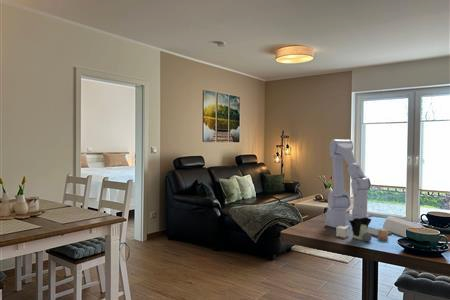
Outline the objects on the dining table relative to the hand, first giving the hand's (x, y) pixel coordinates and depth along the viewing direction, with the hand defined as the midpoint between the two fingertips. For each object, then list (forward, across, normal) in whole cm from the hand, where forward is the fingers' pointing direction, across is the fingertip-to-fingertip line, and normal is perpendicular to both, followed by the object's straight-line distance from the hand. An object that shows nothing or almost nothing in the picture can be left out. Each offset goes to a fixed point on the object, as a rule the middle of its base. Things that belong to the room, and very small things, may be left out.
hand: (359, 234), depth 144 cm
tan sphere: (+2, +8, -6) cm, 10 cm away
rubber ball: (+1, -2, -5) cm, 6 cm away
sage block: (+1, 0, 0) cm, 1 cm away
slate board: (+1, +13, +3) cm, 13 cm away
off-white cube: (+2, -4, +6) cm, 7 cm away
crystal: (+2, +23, -7) cm, 24 cm away
